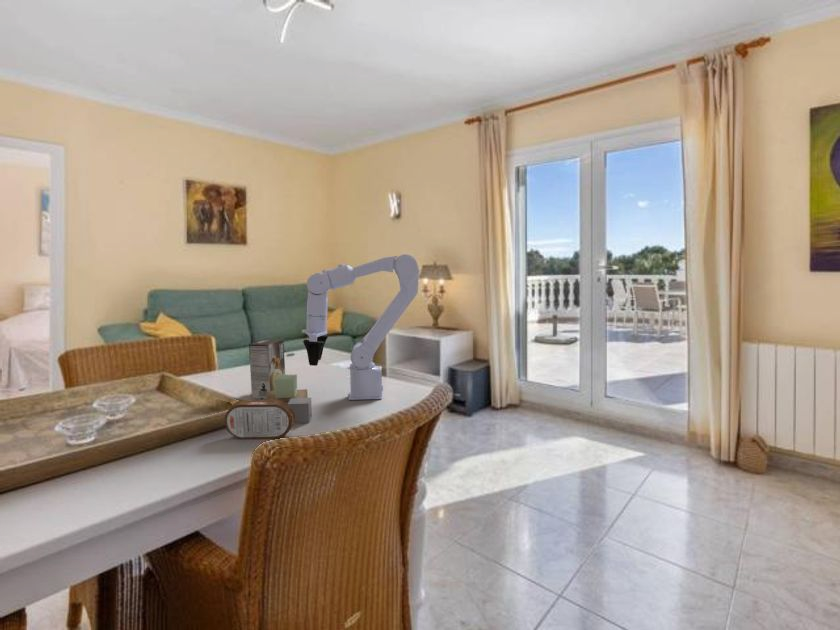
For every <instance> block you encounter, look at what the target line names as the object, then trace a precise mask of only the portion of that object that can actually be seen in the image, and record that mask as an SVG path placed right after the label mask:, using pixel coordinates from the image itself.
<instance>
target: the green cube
mask: <svg viewBox="0 0 840 630" xmlns="http://www.w3.org/2000/svg"><path fill="white" fill-rule="evenodd" d="M297 390H298V374H285V375H278V376H277V377H276V378H275V398H295V396H296V394H297Z"/></svg>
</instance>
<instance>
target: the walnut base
mask: <svg viewBox="0 0 840 630" xmlns="http://www.w3.org/2000/svg"><path fill="white" fill-rule="evenodd" d="M308 395H309V394H308V389H307V388H306V389H297V394H296V396H295V398H309V397H308ZM290 399H291V398H275V391H270V393H269V394H268V396H267V398H266V399H264V400H279V401H283V402H285V403H287V404H288V403H289V401H290Z"/></svg>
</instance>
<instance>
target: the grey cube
mask: <svg viewBox="0 0 840 630" xmlns="http://www.w3.org/2000/svg"><path fill="white" fill-rule="evenodd" d="M312 404H313V403H312V397H308V398H291V399H290V401H289V403H288V405H289V406H290V407H291V408H292V410H293V412H294V415H295V422H294V424H309V423H310V422H311V420H312V417H313V412H312V410H313V409H312Z"/></svg>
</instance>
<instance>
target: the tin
mask: <svg viewBox="0 0 840 630" xmlns="http://www.w3.org/2000/svg"><path fill="white" fill-rule="evenodd" d="M294 422H295V415H294V412H293V410H292V408H291V407H290V406H289V405H288V404H287V403H285V402H283V401H279V400H265V399H264V400H263V399H260V400H259V399H255V400H253V399H252V400H251V399H250V400H249V399H245V400H244V399H242V400H237V401H236V402H234V403H233V404H232V405H231V406H230V407H229V409H228V410H227V411H226V413H225V415H224V426H225V429H226V431H227V432H228V433H229V434H230V435H231V436H232V437H234V438H236V439H240V440H257V439H258V440H259V439H262V440H265V439H268V440H270V439H271V440H272V439H273V440H274V439H276V438H277V439H281V438H284V437H285V436H286V435H287V434H288V433H290V430H292V428H293V426H294Z"/></svg>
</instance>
